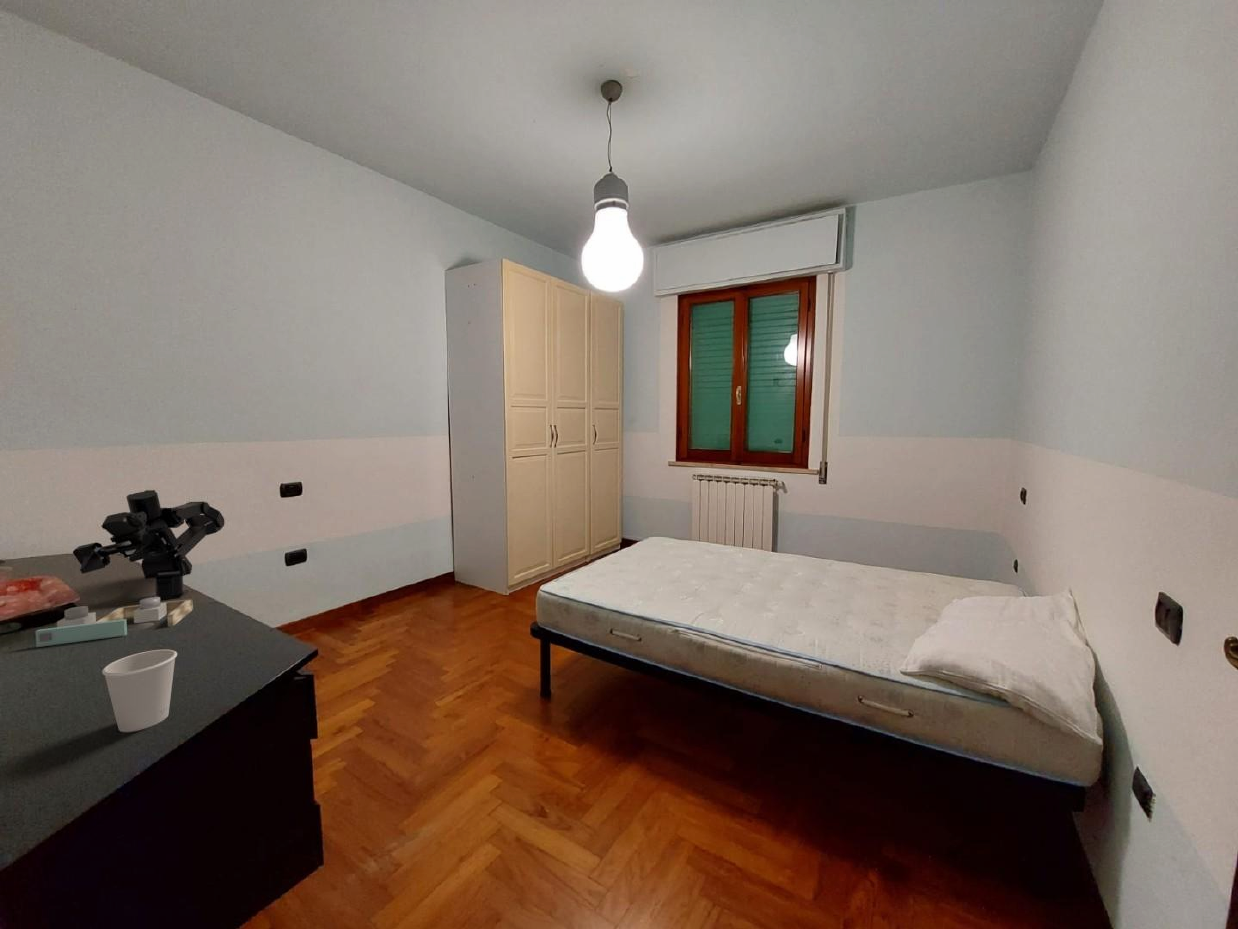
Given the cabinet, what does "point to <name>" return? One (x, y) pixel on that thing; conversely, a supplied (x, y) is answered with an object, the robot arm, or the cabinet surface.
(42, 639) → the panel
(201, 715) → the cabinet surface
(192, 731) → the cabinet surface
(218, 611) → the cabinet surface
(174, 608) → the housing
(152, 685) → the dixie cup
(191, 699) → the cabinet surface
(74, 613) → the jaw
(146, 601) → the jaw
